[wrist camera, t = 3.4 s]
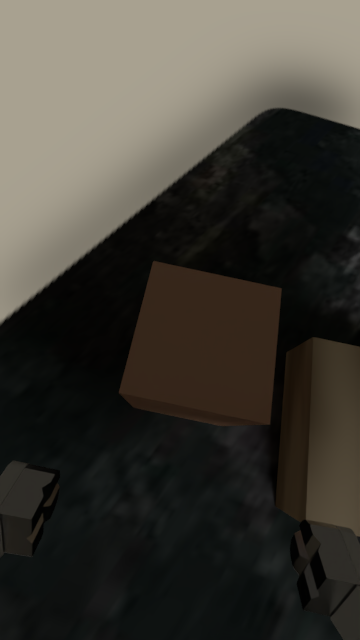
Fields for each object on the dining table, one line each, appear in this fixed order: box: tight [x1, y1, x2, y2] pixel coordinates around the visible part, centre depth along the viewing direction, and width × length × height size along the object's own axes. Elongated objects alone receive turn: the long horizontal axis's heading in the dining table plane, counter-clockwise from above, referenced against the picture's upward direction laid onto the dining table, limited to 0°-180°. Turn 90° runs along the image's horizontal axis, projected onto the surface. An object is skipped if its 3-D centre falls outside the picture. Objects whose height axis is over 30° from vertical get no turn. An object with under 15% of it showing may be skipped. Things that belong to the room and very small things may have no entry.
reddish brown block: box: [119, 261, 282, 426], centre depth 17 cm, size 6×6×9 cm
